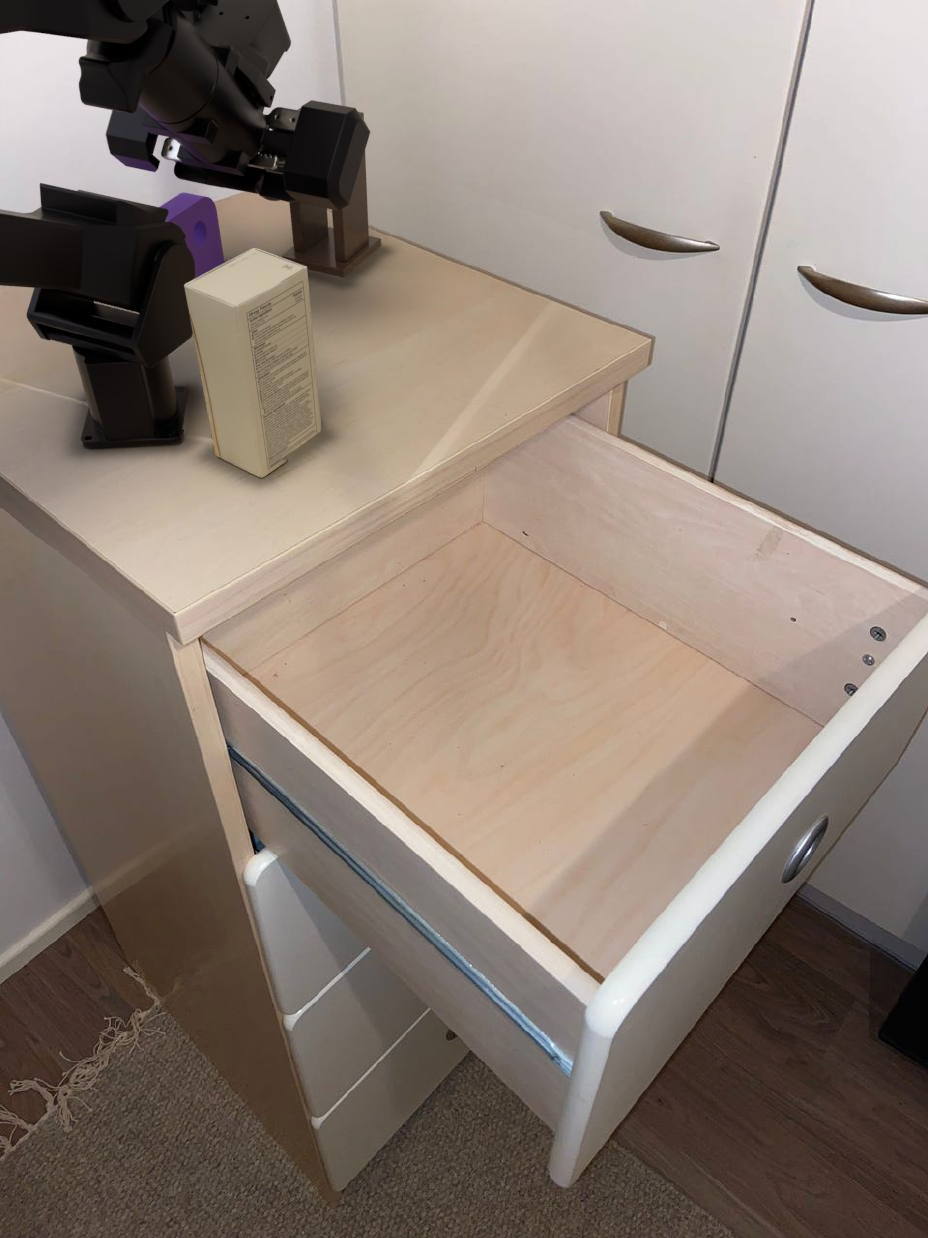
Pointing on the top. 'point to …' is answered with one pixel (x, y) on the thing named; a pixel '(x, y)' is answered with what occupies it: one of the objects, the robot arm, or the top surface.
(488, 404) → the top surface
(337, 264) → the lock bracket
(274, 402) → the cosmetic box
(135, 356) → the robot arm
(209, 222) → the bracket
